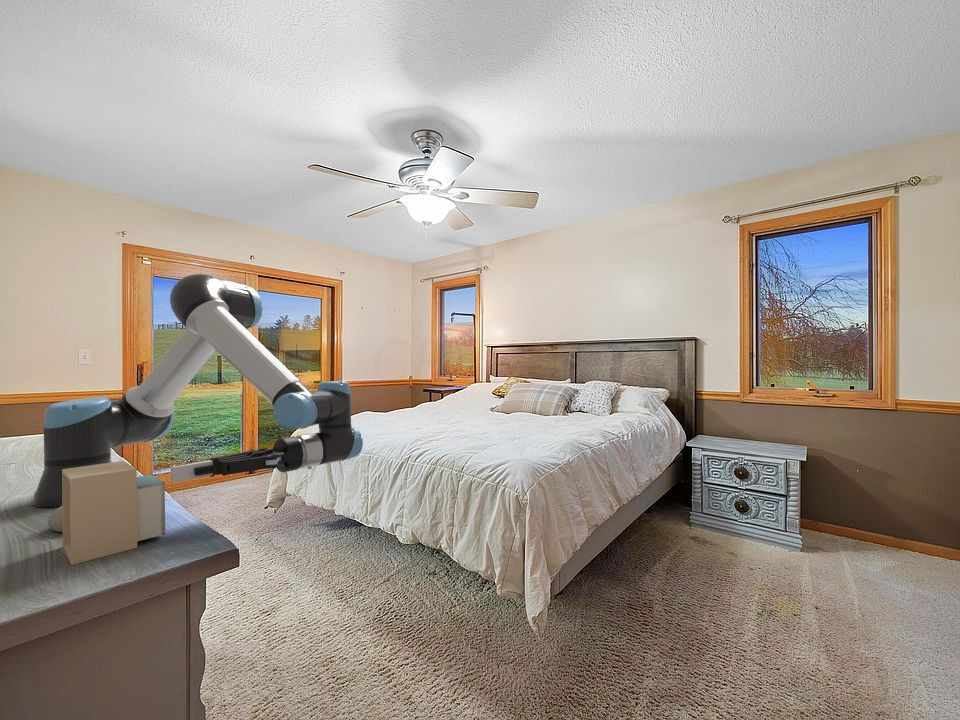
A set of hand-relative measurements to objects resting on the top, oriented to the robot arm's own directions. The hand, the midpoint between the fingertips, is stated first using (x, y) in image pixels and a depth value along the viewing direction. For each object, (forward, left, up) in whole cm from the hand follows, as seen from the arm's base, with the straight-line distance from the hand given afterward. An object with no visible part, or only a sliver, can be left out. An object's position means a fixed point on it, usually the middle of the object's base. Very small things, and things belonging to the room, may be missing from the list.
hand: (172, 474), depth 80 cm
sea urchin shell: (-2, -20, -10) cm, 23 cm away
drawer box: (+5, -5, -9) cm, 12 cm away
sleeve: (+8, -6, -10) cm, 14 cm away
